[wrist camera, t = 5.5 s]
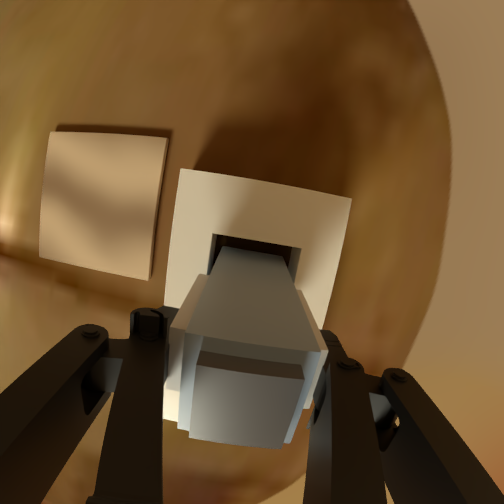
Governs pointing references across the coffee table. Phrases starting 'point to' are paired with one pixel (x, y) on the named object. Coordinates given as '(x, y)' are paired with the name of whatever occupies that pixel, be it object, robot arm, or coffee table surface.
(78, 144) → the pad
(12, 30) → the coffee table surface
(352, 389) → the robot arm
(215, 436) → the plug
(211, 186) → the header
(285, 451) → the coffee table surface
